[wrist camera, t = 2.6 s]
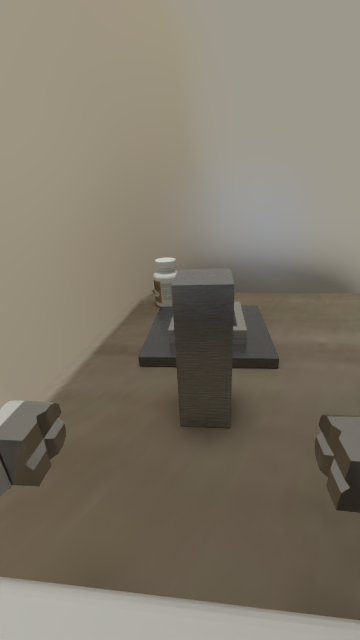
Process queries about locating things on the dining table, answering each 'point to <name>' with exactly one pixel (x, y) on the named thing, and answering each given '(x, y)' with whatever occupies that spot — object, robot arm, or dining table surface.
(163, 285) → the pill bottle
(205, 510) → the dining table surface
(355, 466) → the robot arm
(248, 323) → the block
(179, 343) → the steel bar
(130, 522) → the dining table surface
